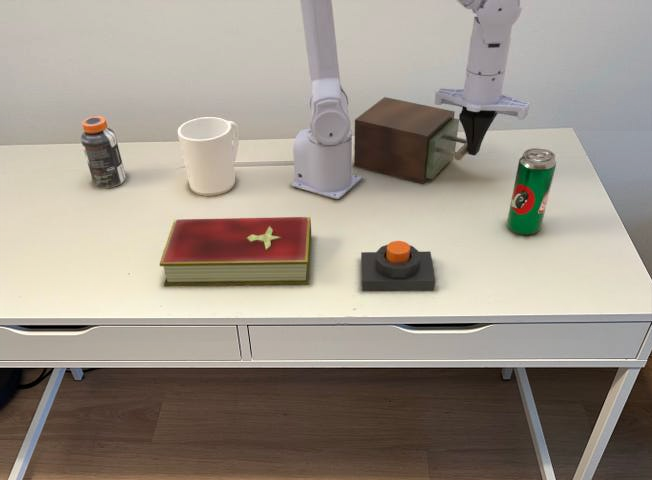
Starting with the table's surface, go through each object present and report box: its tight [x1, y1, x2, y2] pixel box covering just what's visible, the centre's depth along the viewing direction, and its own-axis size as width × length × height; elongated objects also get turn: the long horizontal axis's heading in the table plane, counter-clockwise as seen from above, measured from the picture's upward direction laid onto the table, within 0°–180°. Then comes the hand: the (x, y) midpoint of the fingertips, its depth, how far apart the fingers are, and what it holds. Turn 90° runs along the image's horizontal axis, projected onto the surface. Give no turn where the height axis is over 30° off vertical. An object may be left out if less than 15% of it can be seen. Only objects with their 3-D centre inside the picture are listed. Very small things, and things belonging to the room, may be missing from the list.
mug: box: [177, 116, 240, 197], centre depth 113 cm, size 11×9×10 cm
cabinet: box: [353, 96, 456, 185], centre depth 116 cm, size 14×11×9 cm
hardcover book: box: [159, 216, 312, 287], centre depth 98 cm, size 12×21×4 cm, turn 87°
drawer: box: [425, 117, 468, 180], centre depth 114 cm, size 17×9×7 cm, turn 55°
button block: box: [360, 244, 436, 292], centre depth 93 cm, size 10×7×4 cm
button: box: [386, 240, 411, 263], centre depth 92 cm, size 3×3×2 cm
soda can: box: [506, 147, 557, 236], centre depth 97 cm, size 5×5×12 cm
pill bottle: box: [80, 115, 127, 189], centre depth 116 cm, size 6×6×11 cm
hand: (473, 152), depth 109 cm, fingers closed, pressing on drawer
